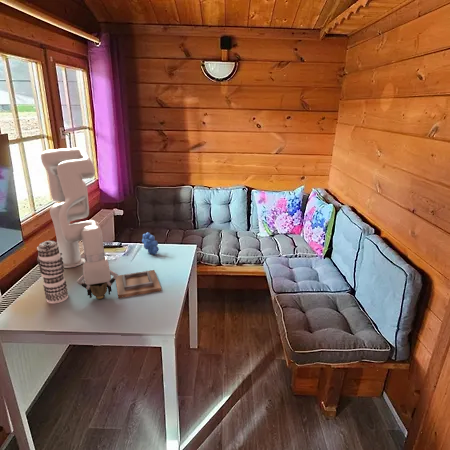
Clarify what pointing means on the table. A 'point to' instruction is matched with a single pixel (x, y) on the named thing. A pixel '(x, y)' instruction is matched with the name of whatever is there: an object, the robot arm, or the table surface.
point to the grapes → (150, 243)
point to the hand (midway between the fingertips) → (100, 294)
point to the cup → (99, 290)
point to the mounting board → (137, 283)
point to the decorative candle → (52, 272)
